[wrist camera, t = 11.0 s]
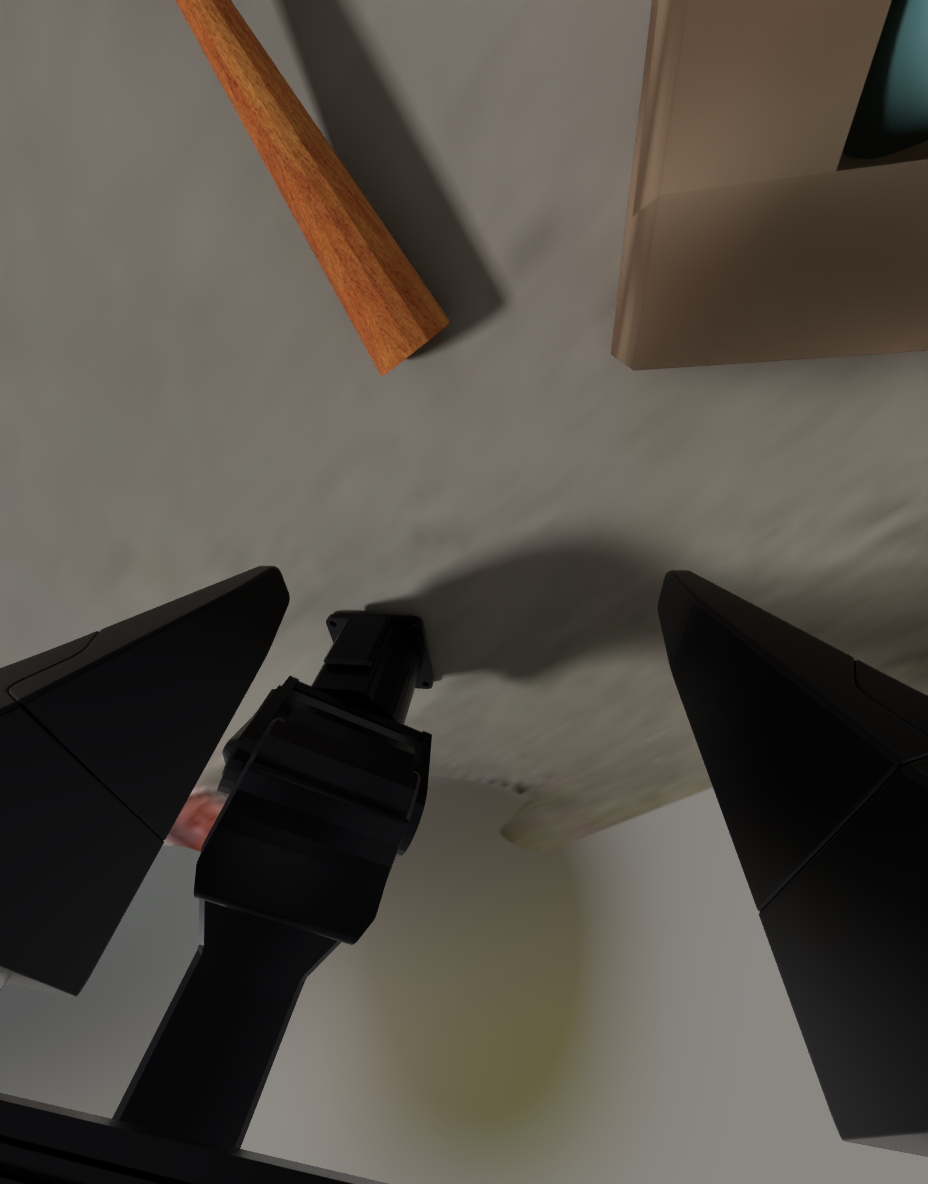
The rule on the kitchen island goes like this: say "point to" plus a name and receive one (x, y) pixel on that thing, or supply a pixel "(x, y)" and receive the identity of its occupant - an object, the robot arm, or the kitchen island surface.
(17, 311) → the kitchen island surface
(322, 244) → the wooden maraca
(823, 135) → the hole block
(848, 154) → the pin
